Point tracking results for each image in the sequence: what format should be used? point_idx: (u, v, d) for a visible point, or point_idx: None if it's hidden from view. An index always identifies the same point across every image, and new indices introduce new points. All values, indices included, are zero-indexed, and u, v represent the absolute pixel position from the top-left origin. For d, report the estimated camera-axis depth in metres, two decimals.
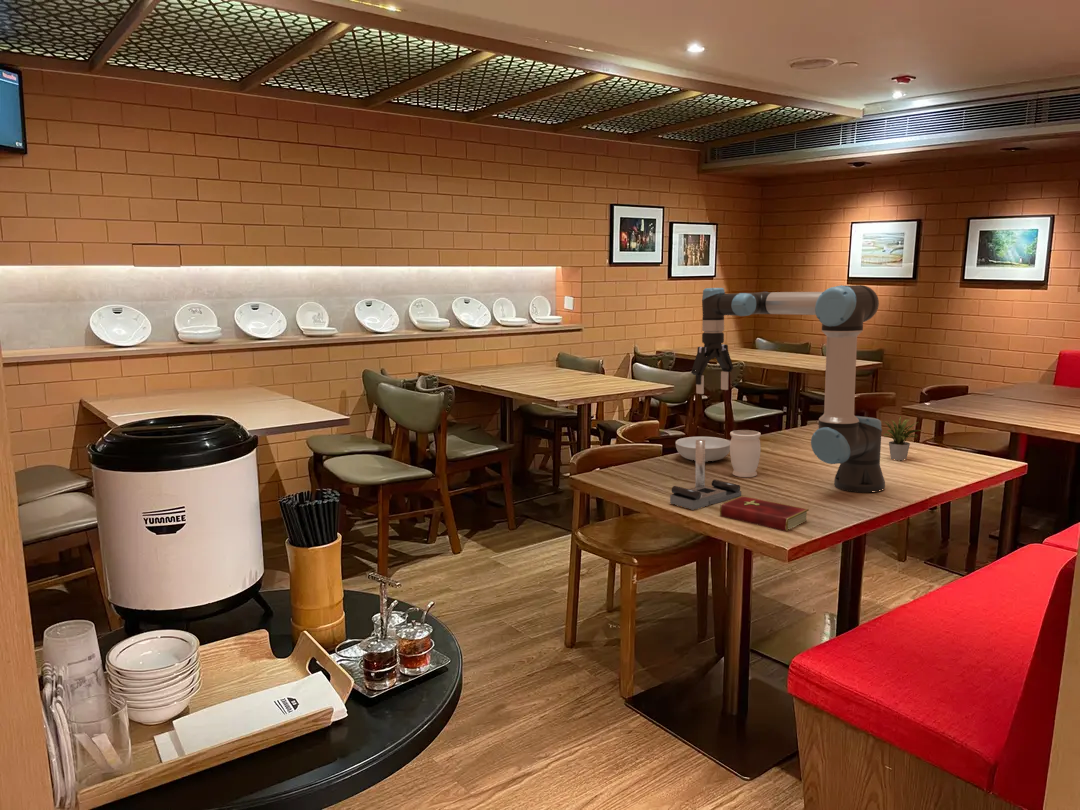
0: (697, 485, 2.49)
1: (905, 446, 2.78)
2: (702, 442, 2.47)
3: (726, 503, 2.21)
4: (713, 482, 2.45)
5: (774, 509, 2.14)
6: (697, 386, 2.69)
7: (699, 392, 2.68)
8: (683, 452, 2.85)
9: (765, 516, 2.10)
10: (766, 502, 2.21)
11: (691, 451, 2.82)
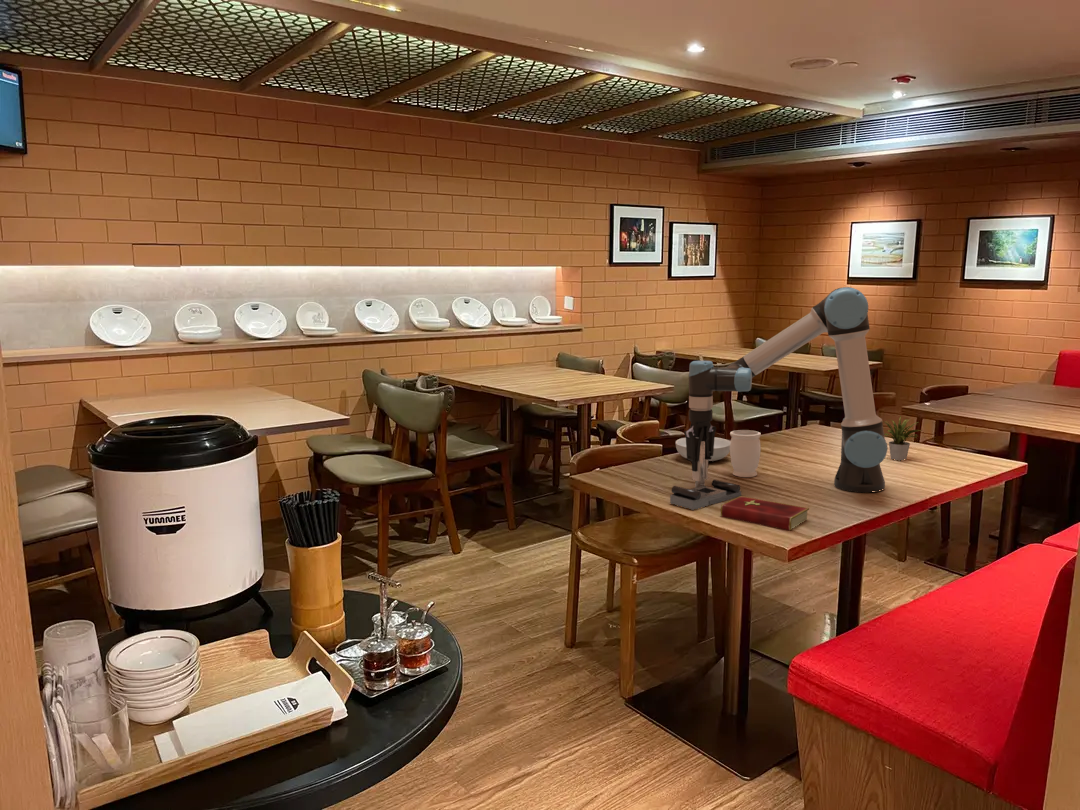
0: (697, 485, 2.49)
1: (905, 446, 2.78)
2: (702, 442, 2.47)
3: (726, 503, 2.21)
4: (713, 482, 2.45)
5: (776, 509, 2.14)
6: (693, 472, 2.49)
7: (695, 479, 2.48)
8: (683, 452, 2.85)
9: (768, 516, 2.10)
10: (766, 502, 2.21)
11: None
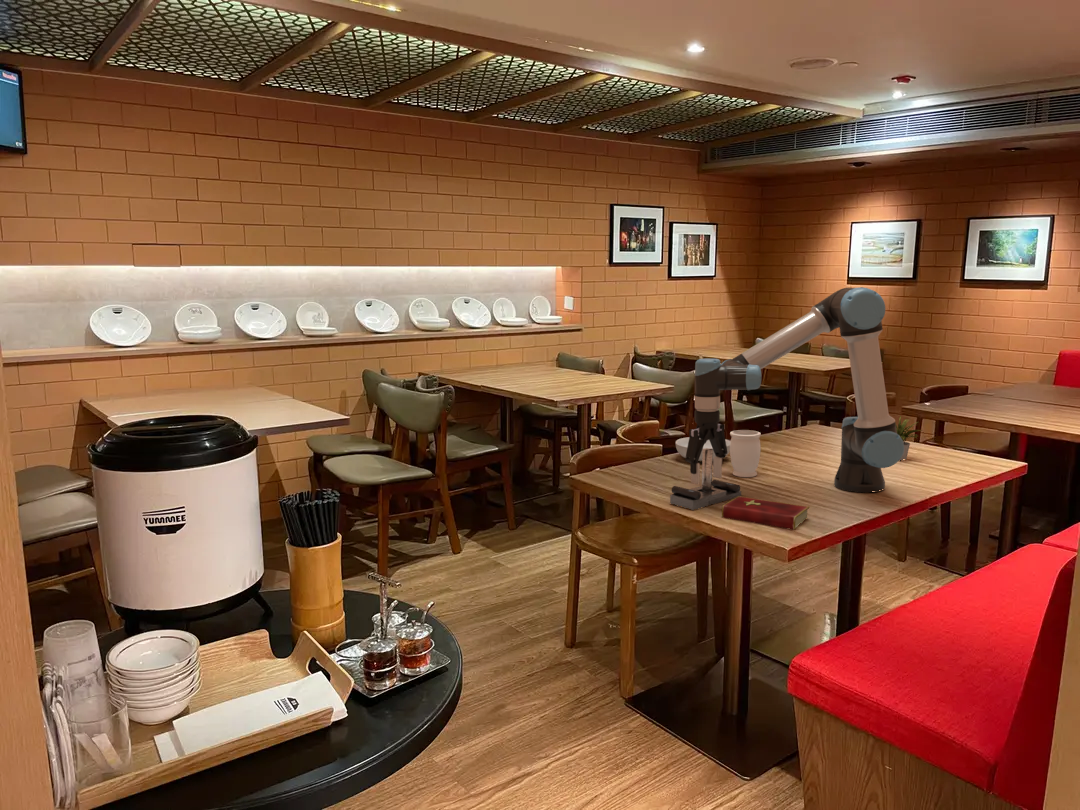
0: None
1: (905, 446, 2.78)
2: (709, 451, 2.34)
3: (727, 504, 2.20)
4: (713, 482, 2.45)
5: (777, 508, 2.15)
6: (692, 475, 2.33)
7: (694, 482, 2.33)
8: (683, 452, 2.85)
9: (772, 516, 2.10)
10: (765, 501, 2.22)
11: None
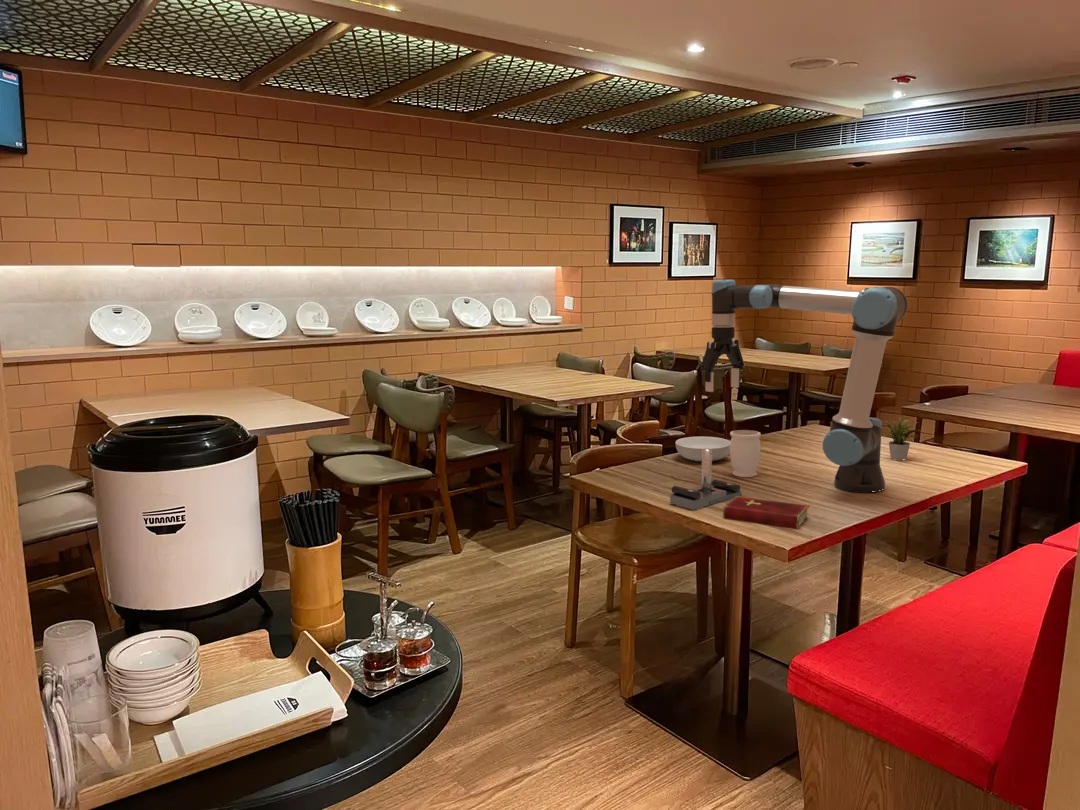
0: None
1: (905, 446, 2.78)
2: (709, 451, 2.33)
3: (728, 505, 2.19)
4: (713, 482, 2.45)
5: (778, 507, 2.15)
6: (706, 383, 2.54)
7: (708, 390, 2.54)
8: (683, 452, 2.85)
9: (774, 515, 2.11)
10: (764, 501, 2.22)
11: (691, 451, 2.82)
